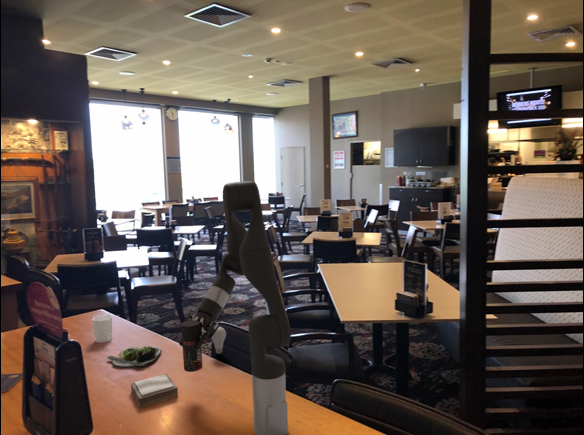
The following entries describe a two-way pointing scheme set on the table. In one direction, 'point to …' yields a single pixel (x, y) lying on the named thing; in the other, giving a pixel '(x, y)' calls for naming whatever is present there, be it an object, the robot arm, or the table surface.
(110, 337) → the white cup
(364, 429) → the table surface
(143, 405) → the pedestal
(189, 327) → the deodorant
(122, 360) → the salad plate
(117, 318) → the table surface
